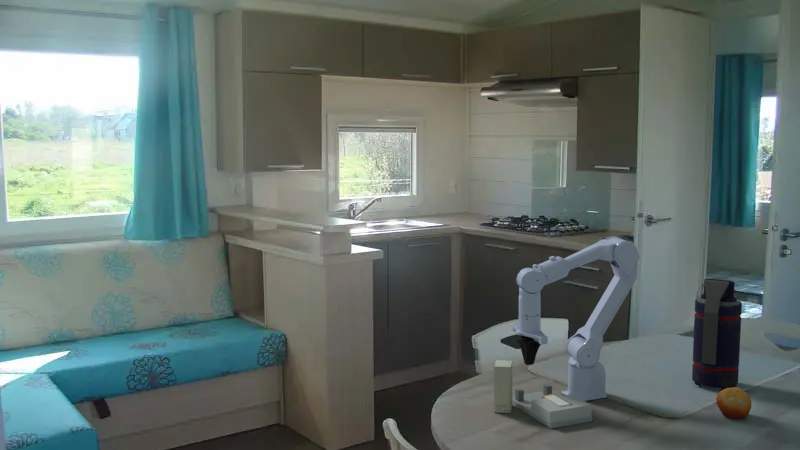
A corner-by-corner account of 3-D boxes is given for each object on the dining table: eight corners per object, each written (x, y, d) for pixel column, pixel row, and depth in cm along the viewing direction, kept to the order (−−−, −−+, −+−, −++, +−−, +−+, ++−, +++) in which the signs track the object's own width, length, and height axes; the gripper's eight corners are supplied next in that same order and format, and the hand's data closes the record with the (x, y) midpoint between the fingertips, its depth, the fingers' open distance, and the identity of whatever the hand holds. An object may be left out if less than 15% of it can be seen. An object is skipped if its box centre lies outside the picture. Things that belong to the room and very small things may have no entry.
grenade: (698, 375, 227) (702, 273, 223) (742, 383, 220) (747, 278, 216) (684, 389, 216) (688, 281, 212) (730, 397, 209) (735, 286, 205)
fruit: (748, 404, 200) (751, 383, 195) (750, 429, 194) (753, 408, 189) (714, 400, 203) (716, 380, 198) (715, 425, 197) (717, 404, 192)
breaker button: (552, 404, 202) (553, 393, 201) (570, 414, 194) (570, 403, 194) (541, 406, 200) (541, 395, 200) (558, 416, 193) (558, 405, 193)
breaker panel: (545, 394, 213) (546, 379, 212) (592, 421, 193) (592, 405, 193) (507, 400, 208) (507, 385, 208) (550, 428, 189) (550, 412, 188)
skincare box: (511, 413, 199) (511, 367, 197) (493, 412, 200) (493, 366, 198) (512, 405, 205) (512, 360, 203) (495, 404, 206) (495, 359, 204)
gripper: (502, 309, 212) (502, 358, 214) (531, 321, 198) (530, 373, 200) (525, 307, 214) (524, 355, 216) (554, 319, 201) (554, 370, 203)
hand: (529, 364), depth 208 cm, fingers closed
